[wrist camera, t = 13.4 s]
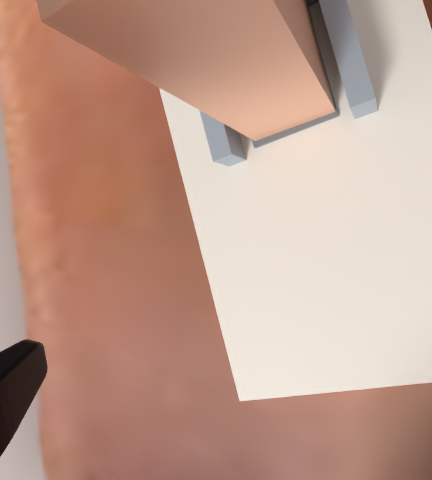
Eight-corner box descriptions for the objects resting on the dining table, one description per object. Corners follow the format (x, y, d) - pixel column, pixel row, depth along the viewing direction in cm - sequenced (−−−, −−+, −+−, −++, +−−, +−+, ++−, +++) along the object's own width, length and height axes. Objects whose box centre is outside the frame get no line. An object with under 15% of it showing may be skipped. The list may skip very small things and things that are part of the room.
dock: (528, 361, 17) (568, 403, 13) (247, 392, 22) (216, 428, 18) (394, -73, 18) (393, -152, 14) (160, 55, 23) (114, 23, 20)
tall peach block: (335, 111, 18) (218, -97, 6) (255, 141, 20) (41, 21, 8) (309, 8, 18) (149, -377, 6) (231, 46, 20) (-8, -207, 8)
